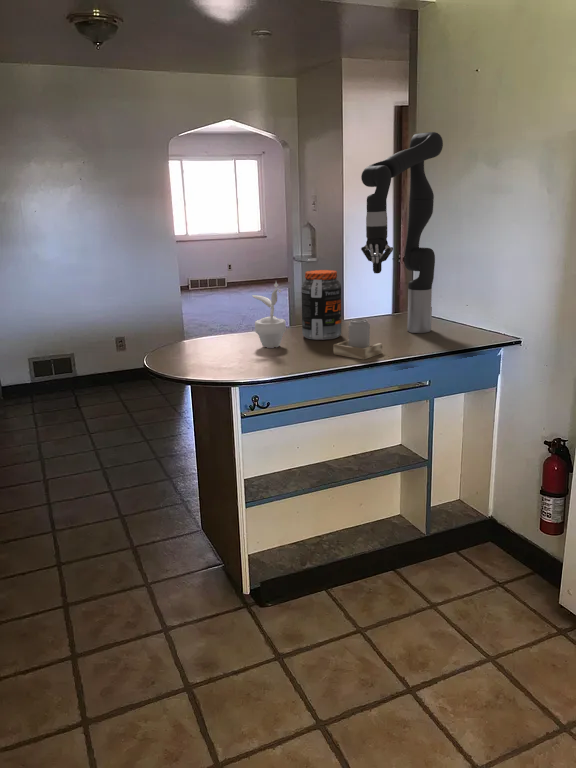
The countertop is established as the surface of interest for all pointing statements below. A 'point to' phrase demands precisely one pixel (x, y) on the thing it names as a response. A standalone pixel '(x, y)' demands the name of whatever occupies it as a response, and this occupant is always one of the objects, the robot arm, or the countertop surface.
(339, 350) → the tray
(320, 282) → the supplement tub
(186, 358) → the countertop surface
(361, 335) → the can
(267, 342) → the potted plant
